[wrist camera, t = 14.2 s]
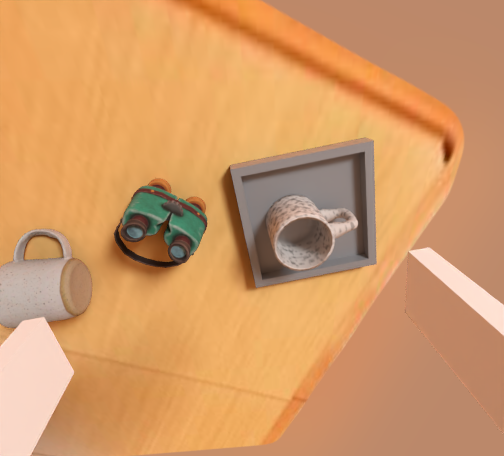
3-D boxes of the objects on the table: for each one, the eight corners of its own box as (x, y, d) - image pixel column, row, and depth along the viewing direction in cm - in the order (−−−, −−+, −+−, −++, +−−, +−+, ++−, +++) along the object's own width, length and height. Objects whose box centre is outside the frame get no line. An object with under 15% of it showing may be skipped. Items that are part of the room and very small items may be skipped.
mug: (272, 248, 41) (280, 277, 35) (260, 202, 38) (266, 224, 32) (347, 229, 41) (368, 255, 35) (341, 181, 38) (362, 199, 32)
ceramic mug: (101, 293, 43) (76, 333, 36) (40, 301, 42) (3, 342, 35) (77, 221, 38) (43, 250, 31) (9, 229, 38) (-41, 259, 31)
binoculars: (83, 282, 31) (117, 201, 27) (120, 229, 40) (150, 163, 36) (168, 316, 33) (212, 246, 29) (185, 258, 42) (220, 199, 38)
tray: (254, 278, 43) (256, 287, 41) (230, 165, 37) (230, 169, 35) (369, 255, 43) (376, 264, 41) (365, 137, 37) (373, 140, 35)
